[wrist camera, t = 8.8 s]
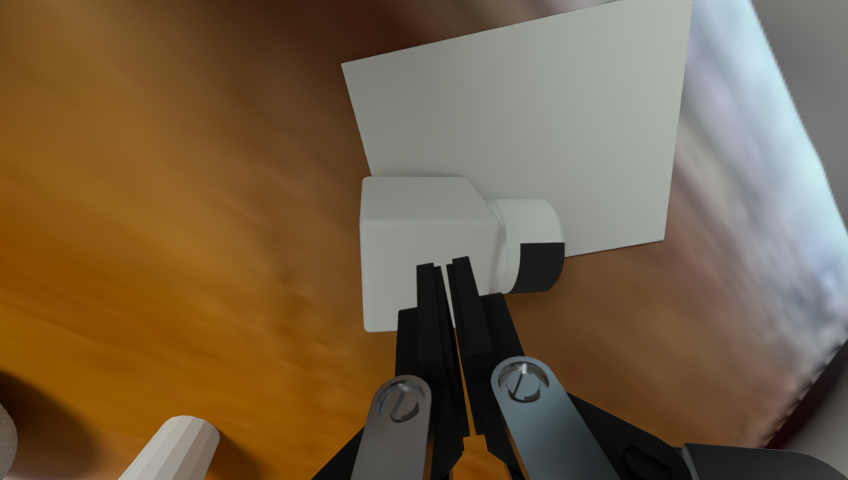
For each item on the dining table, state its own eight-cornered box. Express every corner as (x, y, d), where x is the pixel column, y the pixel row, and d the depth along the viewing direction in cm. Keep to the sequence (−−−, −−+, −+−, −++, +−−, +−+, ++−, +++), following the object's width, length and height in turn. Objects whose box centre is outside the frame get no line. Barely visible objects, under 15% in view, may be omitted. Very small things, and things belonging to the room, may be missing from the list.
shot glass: (141, 423, 36) (84, 499, 30) (195, 403, 35) (147, 478, 29) (188, 460, 39) (145, 536, 33) (239, 443, 38) (204, 519, 32)
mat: (342, 63, 22) (340, 63, 21) (689, -16, 20) (695, -17, 19) (401, 281, 29) (401, 285, 28) (659, 236, 27) (663, 239, 27)
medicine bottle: (365, 268, 27) (519, 263, 28) (364, 335, 20) (562, 323, 22) (361, 175, 23) (537, 175, 25) (358, 221, 17) (593, 217, 19)
